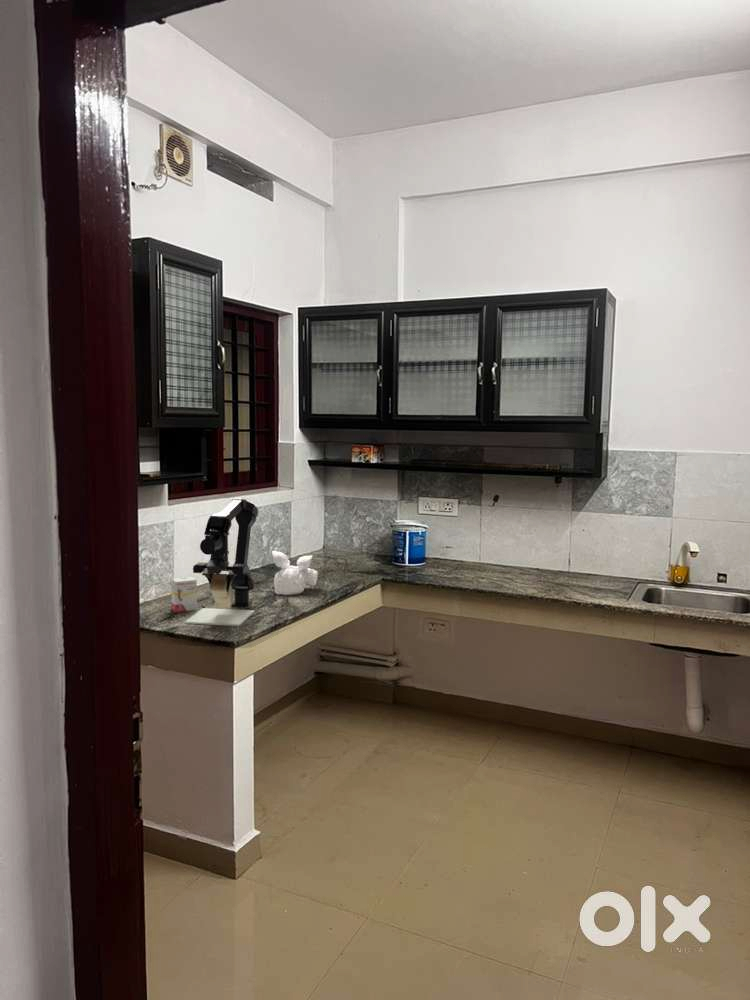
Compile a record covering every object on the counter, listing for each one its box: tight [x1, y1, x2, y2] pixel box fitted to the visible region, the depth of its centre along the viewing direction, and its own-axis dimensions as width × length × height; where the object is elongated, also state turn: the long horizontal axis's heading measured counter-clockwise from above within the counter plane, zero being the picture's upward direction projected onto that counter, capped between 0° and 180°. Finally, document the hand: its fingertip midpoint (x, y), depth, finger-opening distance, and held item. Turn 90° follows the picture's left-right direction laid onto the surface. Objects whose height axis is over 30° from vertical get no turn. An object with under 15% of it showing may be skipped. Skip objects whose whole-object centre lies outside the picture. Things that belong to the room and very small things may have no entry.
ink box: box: [171, 576, 198, 613], centre depth 279 cm, size 9×5×12 cm, turn 120°
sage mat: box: [184, 607, 255, 627], centre depth 270 cm, size 19×20×1 cm
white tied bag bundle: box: [271, 550, 319, 596], centre depth 312 cm, size 19×20×20 cm
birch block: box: [209, 573, 234, 608], centre depth 270 cm, size 6×5×12 cm
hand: (220, 591), depth 269 cm, fingers closed on birch block, 5 cm apart
